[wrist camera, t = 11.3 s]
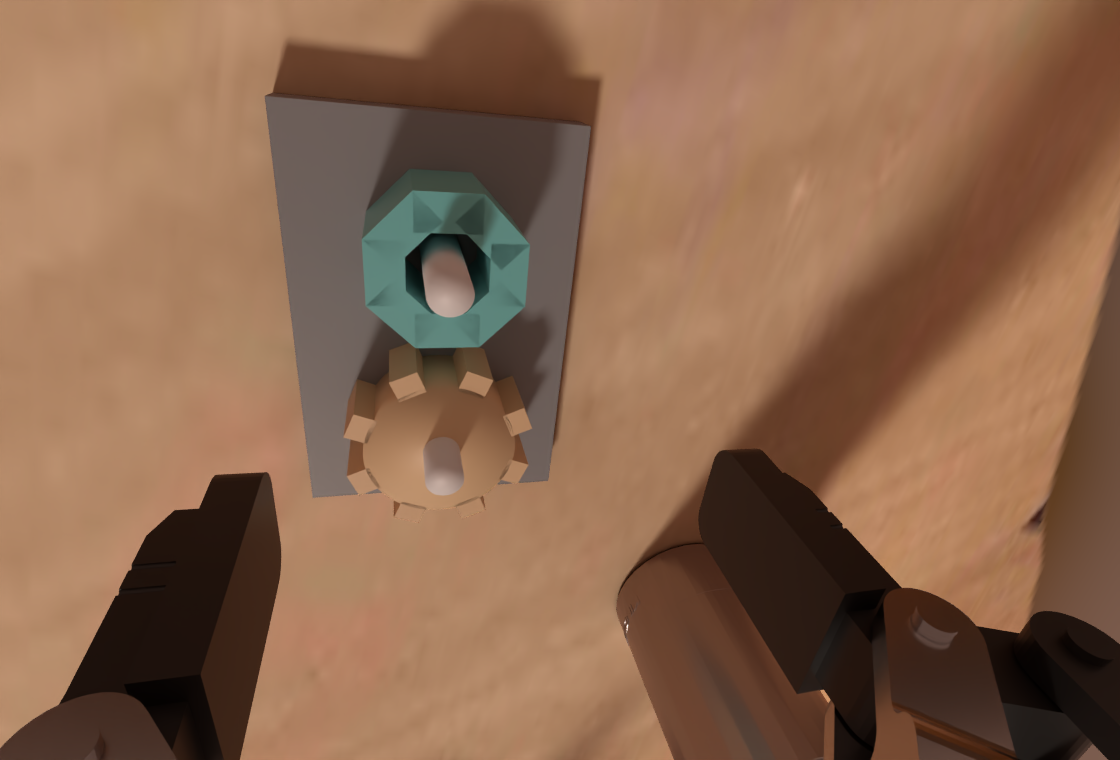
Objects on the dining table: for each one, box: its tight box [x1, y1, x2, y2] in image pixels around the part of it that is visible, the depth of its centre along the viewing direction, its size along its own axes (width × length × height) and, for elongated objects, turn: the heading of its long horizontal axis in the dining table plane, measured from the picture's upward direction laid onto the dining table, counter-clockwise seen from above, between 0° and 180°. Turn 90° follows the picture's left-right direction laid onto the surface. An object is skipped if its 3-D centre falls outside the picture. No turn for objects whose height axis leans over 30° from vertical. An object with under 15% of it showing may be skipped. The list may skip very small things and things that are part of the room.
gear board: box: [265, 93, 591, 523], centre depth 24 cm, size 12×18×8 cm, turn 173°
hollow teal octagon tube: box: [362, 169, 530, 348], centre depth 23 cm, size 6×6×4 cm
